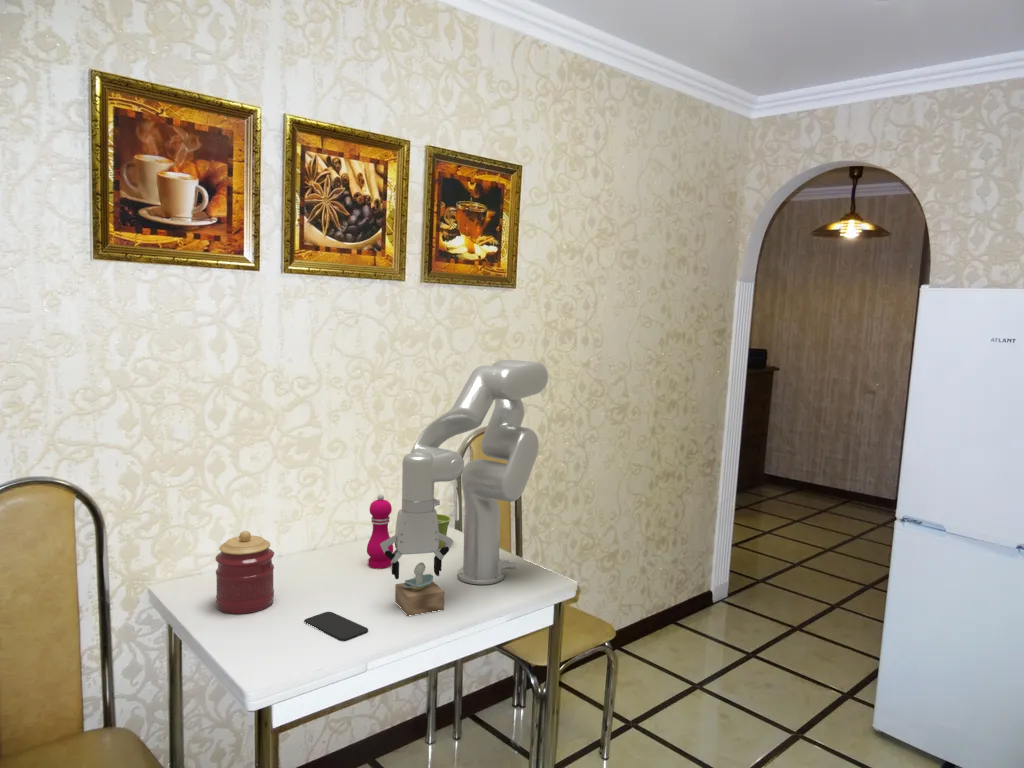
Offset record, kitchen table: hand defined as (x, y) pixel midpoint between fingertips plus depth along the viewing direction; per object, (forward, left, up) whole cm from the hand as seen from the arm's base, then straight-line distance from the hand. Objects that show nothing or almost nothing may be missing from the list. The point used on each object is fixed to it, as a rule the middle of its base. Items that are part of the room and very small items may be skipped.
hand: (416, 575), depth 172 cm
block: (-1, +1, -8) cm, 8 cm away
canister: (+39, -10, -8) cm, 41 cm away
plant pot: (-13, -43, -7) cm, 46 cm away
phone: (+19, +8, -8) cm, 22 cm away
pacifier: (0, 0, -3) cm, 3 cm away
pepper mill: (+5, -30, -7) cm, 31 cm away
